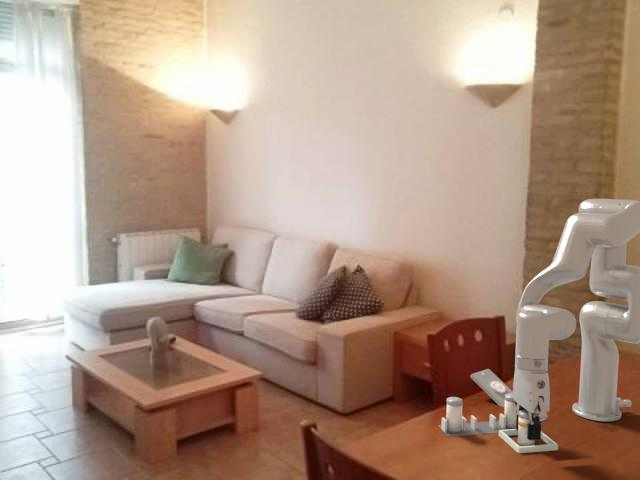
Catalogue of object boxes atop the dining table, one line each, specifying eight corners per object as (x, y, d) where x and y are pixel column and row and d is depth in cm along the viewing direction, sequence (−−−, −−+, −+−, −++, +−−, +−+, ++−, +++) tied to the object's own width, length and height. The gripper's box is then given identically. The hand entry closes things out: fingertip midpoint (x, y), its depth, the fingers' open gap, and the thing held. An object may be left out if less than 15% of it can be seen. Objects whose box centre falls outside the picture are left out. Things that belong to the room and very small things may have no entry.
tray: (535, 436, 161) (536, 427, 160) (557, 454, 151) (558, 444, 150) (498, 439, 159) (498, 430, 158) (518, 457, 149) (518, 447, 148)
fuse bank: (515, 423, 169) (517, 390, 168) (528, 434, 162) (530, 400, 161) (437, 429, 165) (438, 395, 163) (447, 440, 158) (448, 405, 157)
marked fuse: (529, 440, 157) (530, 409, 156) (537, 446, 153) (538, 415, 152) (514, 441, 156) (515, 410, 156) (522, 448, 152) (523, 416, 152)
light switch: (508, 407, 176) (472, 371, 185) (499, 422, 179) (464, 386, 188) (526, 400, 181) (490, 366, 190) (517, 414, 184) (481, 380, 193)
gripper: (565, 372, 145) (561, 448, 147) (527, 351, 161) (524, 420, 163) (535, 374, 143) (531, 451, 145) (500, 352, 160) (497, 421, 162)
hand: (528, 433), depth 154 cm, fingers open, 4 cm apart
